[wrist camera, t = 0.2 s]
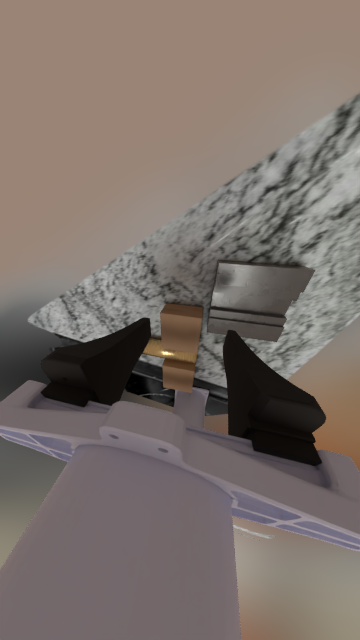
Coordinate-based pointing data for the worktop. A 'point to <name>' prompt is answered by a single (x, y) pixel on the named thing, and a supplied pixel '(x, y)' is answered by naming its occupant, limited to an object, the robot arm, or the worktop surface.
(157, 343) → the axle
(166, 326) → the beam
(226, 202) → the worktop surface
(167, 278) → the worktop surface
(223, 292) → the v block
